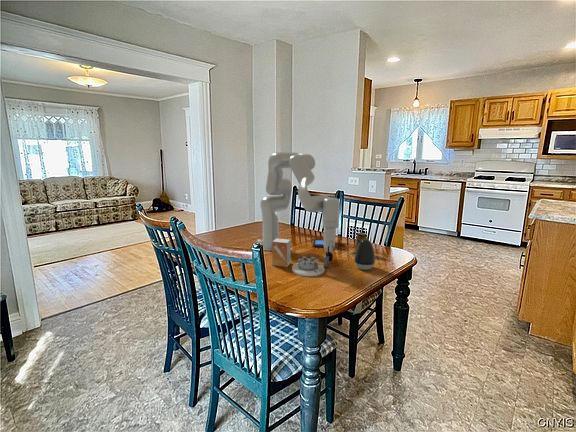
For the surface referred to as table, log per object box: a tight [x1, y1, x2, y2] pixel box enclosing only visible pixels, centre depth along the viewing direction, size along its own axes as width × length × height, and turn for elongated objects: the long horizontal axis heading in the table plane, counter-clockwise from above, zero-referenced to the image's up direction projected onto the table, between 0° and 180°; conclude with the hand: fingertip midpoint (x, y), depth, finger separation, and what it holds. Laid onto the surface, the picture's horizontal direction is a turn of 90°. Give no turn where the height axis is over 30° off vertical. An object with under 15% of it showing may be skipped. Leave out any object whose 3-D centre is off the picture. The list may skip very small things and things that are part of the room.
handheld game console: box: [312, 238, 325, 249], centre depth 200 cm, size 16×13×9 cm
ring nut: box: [297, 254, 330, 271], centre depth 154 cm, size 16×10×8 cm, turn 54°
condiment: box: [350, 232, 368, 256], centre depth 181 cm, size 7×8×12 cm
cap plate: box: [291, 262, 326, 277], centre depth 156 cm, size 16×16×2 cm
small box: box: [271, 238, 292, 268], centre depth 163 cm, size 8×6×13 cm
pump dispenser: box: [353, 238, 376, 271], centre depth 158 cm, size 10×10×15 cm
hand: (329, 260), depth 153 cm, fingers closed
